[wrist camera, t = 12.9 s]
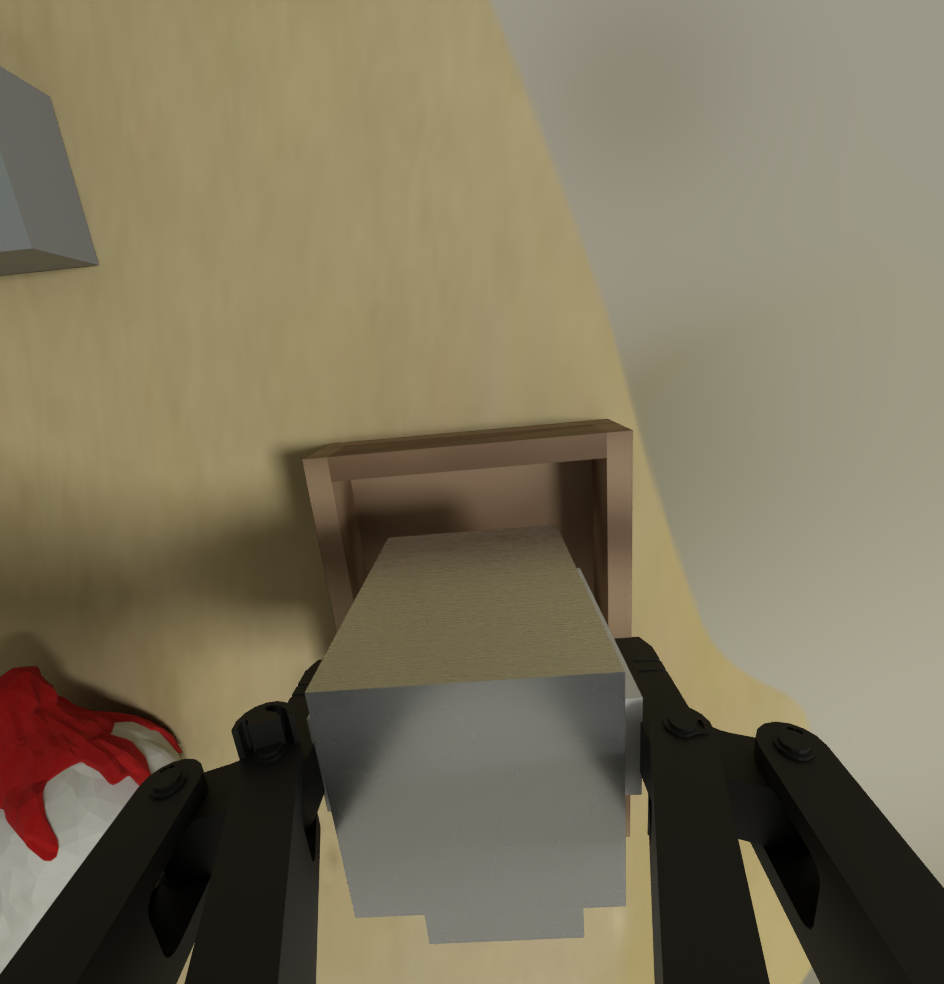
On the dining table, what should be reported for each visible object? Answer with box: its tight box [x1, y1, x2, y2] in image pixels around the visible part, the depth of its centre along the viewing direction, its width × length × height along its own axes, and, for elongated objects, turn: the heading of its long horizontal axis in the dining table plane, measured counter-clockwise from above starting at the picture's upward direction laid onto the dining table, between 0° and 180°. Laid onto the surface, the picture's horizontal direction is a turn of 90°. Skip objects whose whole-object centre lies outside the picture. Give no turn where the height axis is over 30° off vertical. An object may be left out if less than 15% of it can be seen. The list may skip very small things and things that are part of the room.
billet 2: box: [425, 908, 584, 944], centre depth 21 cm, size 6×6×8 cm
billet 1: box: [305, 524, 626, 918], centre depth 13 cm, size 6×6×8 cm
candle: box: [0, 666, 183, 974], centre depth 23 cm, size 9×11×15 cm
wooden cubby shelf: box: [302, 419, 633, 837], centre depth 22 cm, size 21×13×4 cm, turn 5°
